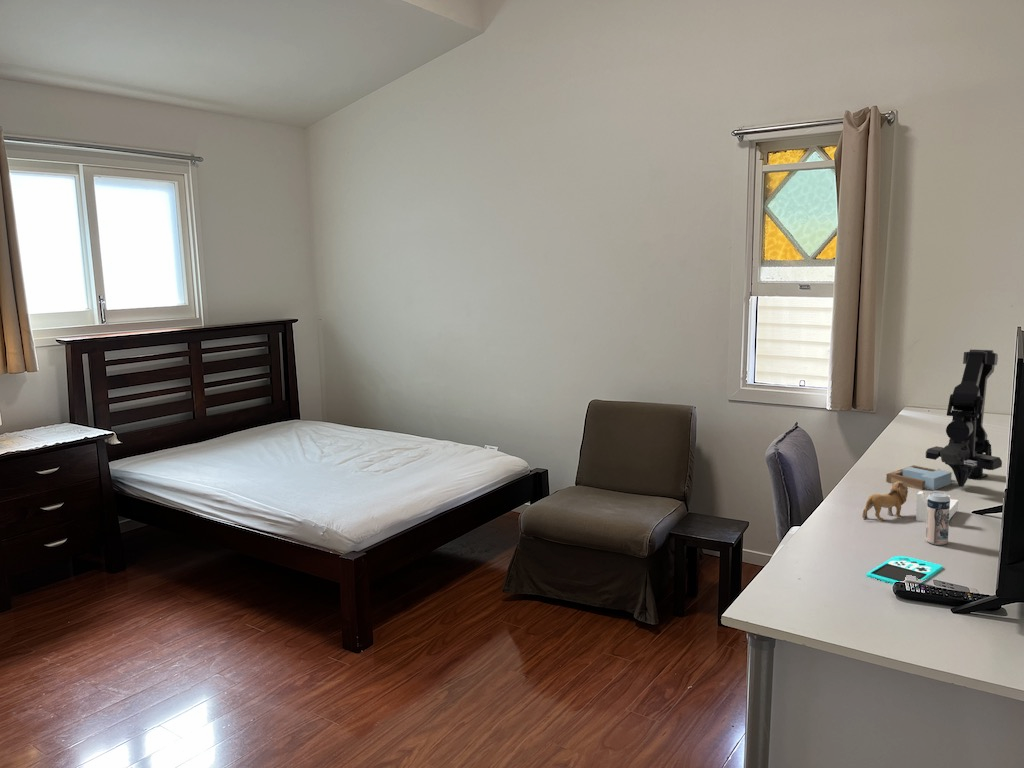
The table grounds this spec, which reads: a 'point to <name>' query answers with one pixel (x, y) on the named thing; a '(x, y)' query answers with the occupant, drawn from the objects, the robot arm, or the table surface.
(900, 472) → the pocket
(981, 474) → the robot arm
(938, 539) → the printed cylindrical canister
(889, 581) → the handheld game console
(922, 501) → the bracket
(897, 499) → the lion figurine
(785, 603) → the table surface
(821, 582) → the table surface
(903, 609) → the table surface
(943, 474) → the t block
